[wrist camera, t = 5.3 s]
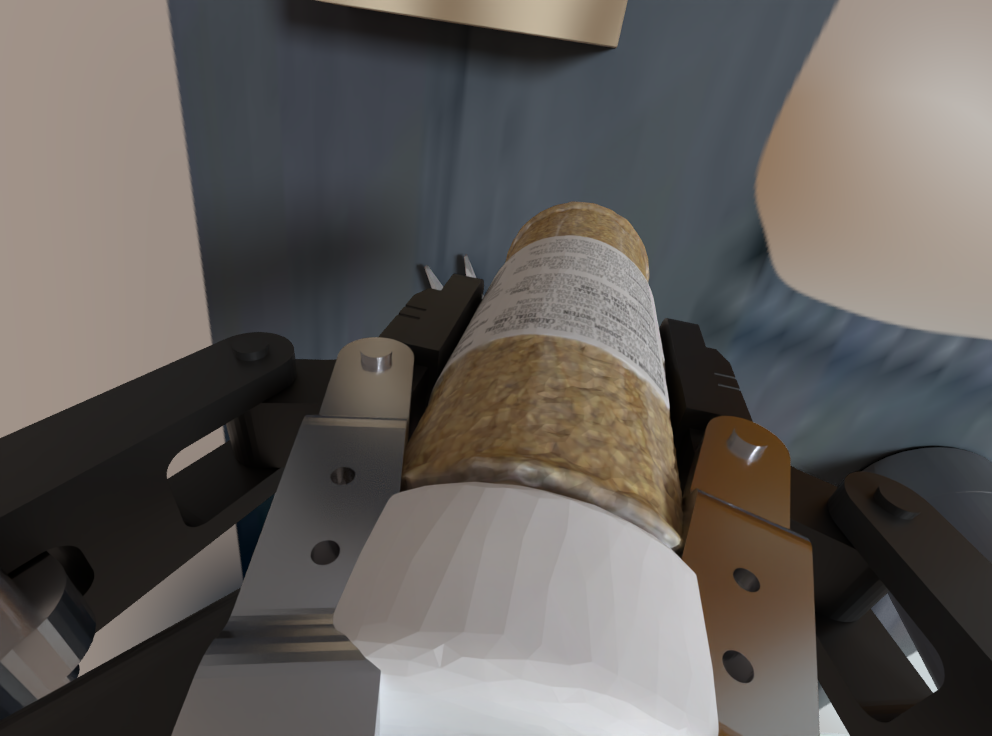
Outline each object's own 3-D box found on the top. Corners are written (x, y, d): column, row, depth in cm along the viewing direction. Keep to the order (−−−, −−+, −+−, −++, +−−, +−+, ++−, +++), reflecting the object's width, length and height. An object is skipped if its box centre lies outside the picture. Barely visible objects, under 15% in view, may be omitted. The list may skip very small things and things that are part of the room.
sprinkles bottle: (589, 355, 17) (546, 923, 6) (481, 284, 16) (196, 766, 5) (682, 251, 14) (929, 913, 3) (557, 163, 14) (320, 600, 3)
